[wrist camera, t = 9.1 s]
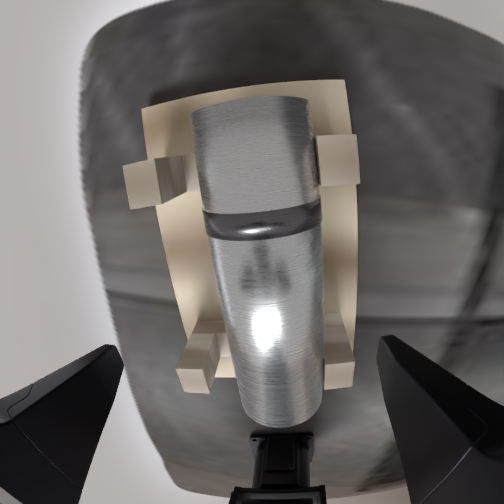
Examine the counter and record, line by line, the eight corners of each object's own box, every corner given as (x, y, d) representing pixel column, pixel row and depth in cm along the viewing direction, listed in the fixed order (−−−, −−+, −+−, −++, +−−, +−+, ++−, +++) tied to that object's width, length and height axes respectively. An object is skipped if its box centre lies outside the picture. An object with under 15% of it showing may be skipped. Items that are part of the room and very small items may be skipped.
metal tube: (305, 362, 19) (336, 412, 14) (234, 380, 18) (250, 437, 13) (287, 113, 14) (332, 95, 9) (188, 124, 13) (188, 103, 8)
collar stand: (348, 361, 21) (362, 418, 15) (202, 368, 22) (183, 423, 17) (340, 83, 14) (369, 53, 9) (148, 110, 16) (94, 99, 10)
